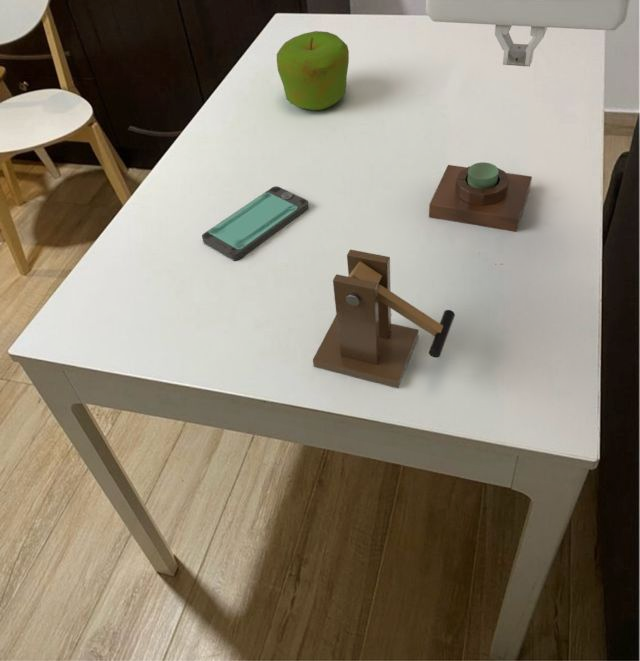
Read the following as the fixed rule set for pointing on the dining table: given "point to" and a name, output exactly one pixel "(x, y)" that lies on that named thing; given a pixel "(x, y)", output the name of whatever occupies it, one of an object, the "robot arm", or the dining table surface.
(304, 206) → the smartphone
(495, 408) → the dining table surface
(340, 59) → the apple
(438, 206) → the button block
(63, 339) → the dining table surface
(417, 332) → the switch bracket
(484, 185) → the light button
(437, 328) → the switch lever
